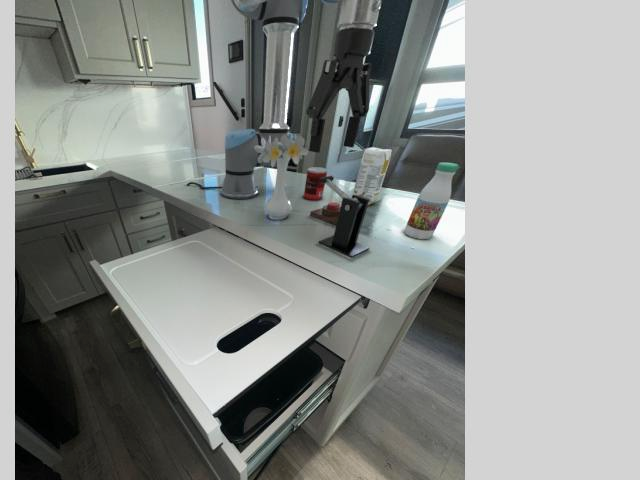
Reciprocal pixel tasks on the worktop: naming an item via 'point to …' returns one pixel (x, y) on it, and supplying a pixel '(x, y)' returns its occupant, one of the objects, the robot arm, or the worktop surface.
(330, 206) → the button
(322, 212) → the control block
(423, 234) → the milk bottle
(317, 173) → the canned food
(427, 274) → the worktop surface
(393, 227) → the worktop surface
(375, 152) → the juice carton
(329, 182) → the lever
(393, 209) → the worktop surface
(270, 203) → the flower vase
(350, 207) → the bracket
